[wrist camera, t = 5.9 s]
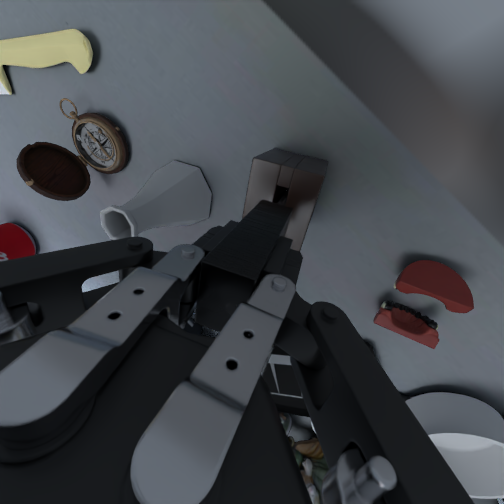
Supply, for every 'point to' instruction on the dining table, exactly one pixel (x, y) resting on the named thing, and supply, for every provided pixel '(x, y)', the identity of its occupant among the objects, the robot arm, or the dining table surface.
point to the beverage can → (15, 242)
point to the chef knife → (239, 262)
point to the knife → (45, 52)
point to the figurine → (308, 460)
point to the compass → (74, 157)
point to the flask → (161, 203)
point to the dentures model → (428, 283)
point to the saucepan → (465, 439)
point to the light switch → (286, 383)
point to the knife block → (287, 176)
